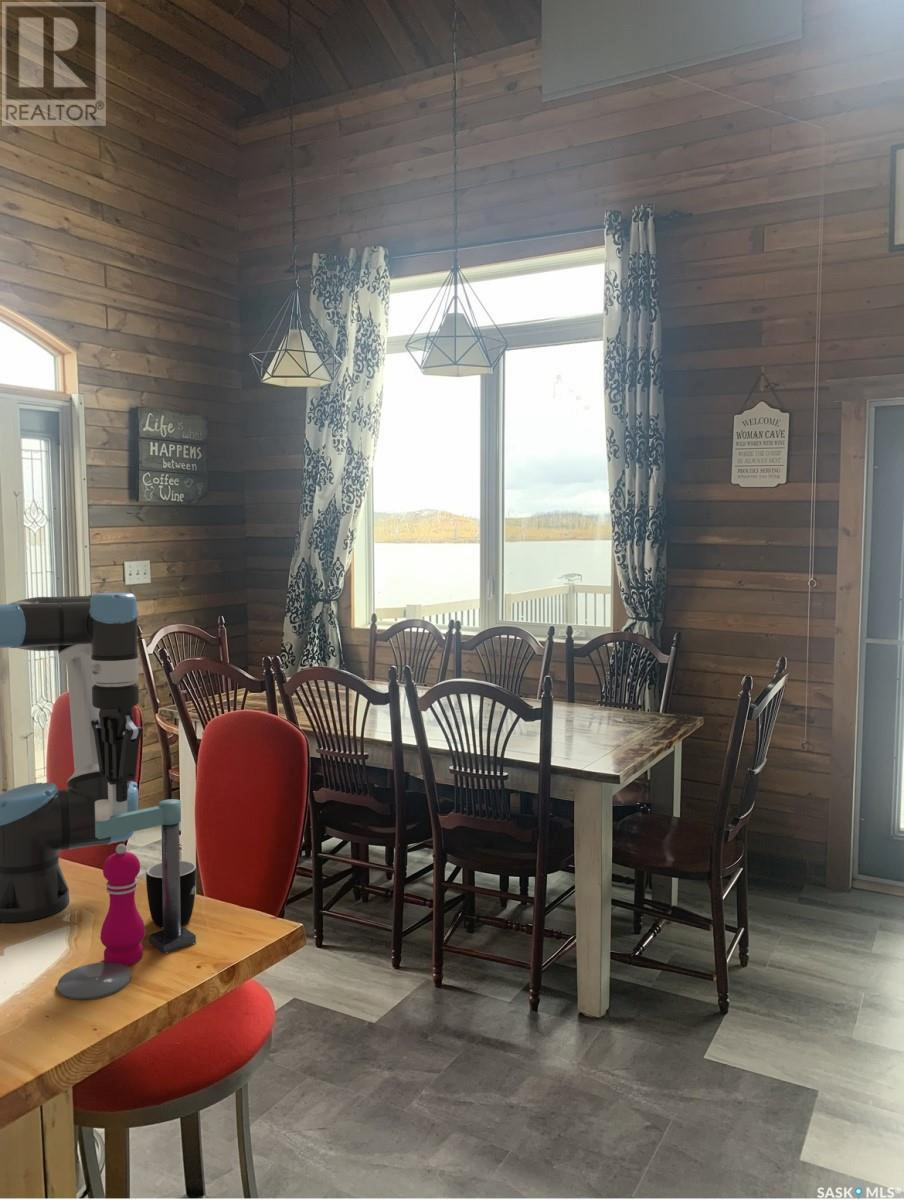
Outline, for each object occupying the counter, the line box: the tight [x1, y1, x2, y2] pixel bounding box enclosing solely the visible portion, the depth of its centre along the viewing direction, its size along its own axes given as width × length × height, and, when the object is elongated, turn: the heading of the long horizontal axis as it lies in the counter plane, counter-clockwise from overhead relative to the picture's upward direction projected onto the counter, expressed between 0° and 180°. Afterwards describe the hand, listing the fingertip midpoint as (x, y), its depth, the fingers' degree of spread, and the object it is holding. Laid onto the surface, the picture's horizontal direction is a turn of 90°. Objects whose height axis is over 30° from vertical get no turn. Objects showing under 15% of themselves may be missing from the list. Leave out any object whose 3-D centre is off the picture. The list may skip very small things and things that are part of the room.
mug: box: [145, 860, 197, 928], centre depth 173 cm, size 12×9×10 cm
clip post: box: [147, 822, 197, 955], centre depth 162 cm, size 6×6×22 cm
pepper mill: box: [99, 843, 146, 967], centre depth 156 cm, size 7×7×20 cm
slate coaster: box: [57, 962, 132, 1001], centre depth 148 cm, size 11×11×1 cm
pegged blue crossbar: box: [95, 798, 182, 839], centre depth 157 cm, size 15×4×6 cm, turn 134°
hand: (118, 818), depth 158 cm, fingers closed
